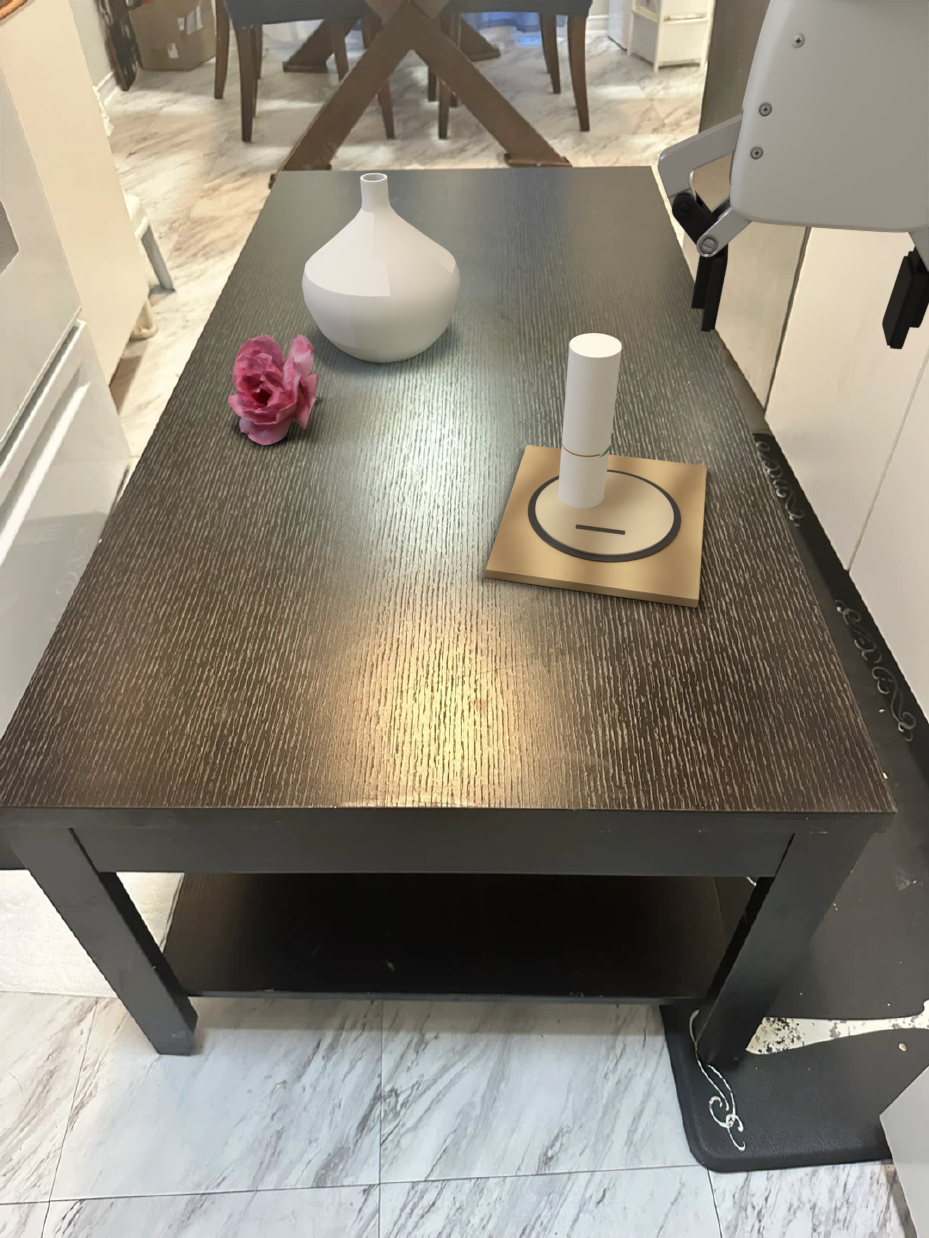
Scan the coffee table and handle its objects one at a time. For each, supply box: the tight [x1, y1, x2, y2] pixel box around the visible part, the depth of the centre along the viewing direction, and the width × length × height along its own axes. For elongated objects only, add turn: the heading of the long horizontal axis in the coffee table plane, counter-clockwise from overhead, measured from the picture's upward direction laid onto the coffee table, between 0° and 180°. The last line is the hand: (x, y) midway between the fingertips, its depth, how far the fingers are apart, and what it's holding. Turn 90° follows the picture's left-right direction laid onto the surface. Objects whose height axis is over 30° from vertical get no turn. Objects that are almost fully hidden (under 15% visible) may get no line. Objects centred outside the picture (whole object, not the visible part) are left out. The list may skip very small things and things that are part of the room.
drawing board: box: [485, 444, 708, 609], centre depth 82 cm, size 18×20×2 cm
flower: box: [227, 333, 319, 446], centre depth 93 cm, size 11×10×10 cm
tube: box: [558, 332, 623, 509], centre depth 78 cm, size 4×4×15 cm
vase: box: [301, 172, 461, 364], centre depth 102 cm, size 18×18×19 cm
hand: (797, 329), depth 48 cm, fingers open, 9 cm apart
